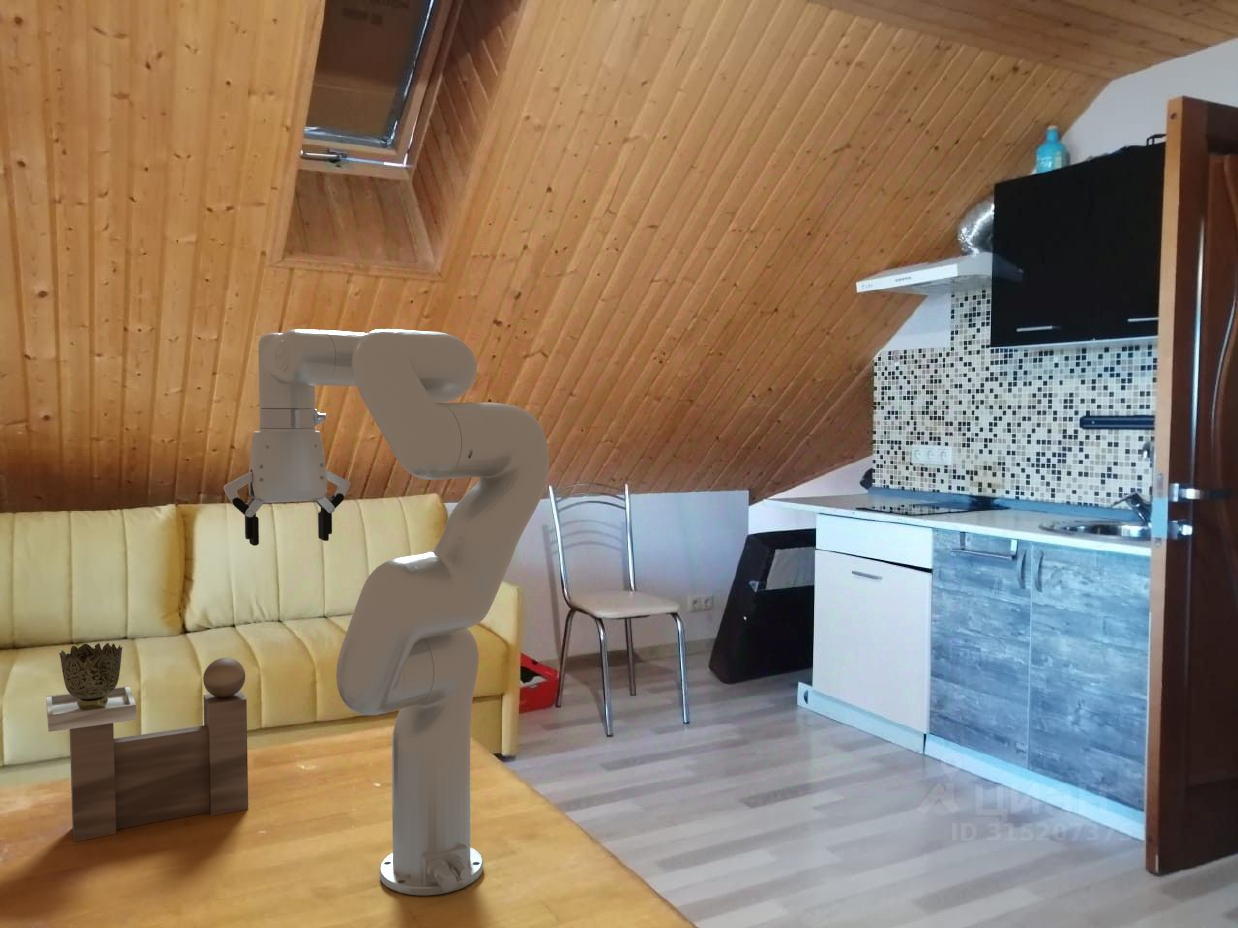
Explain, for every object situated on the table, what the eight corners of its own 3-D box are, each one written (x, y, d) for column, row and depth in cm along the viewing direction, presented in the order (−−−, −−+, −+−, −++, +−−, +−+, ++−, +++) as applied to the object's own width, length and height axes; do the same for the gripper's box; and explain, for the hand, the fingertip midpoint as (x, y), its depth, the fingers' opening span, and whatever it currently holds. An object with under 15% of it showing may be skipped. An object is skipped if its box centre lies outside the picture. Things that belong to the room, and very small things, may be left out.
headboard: (254, 814, 144) (251, 664, 142) (52, 853, 131) (47, 688, 130) (240, 790, 153) (238, 648, 151) (50, 824, 140) (45, 669, 139)
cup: (97, 718, 133) (96, 657, 132) (48, 714, 134) (46, 654, 133) (135, 701, 140) (134, 643, 139) (87, 697, 141) (86, 640, 141)
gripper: (341, 420, 152) (342, 535, 153) (218, 421, 143) (220, 542, 144) (356, 421, 145) (357, 541, 146) (227, 422, 136) (230, 549, 137)
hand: (289, 541), depth 145 cm, fingers open, 9 cm apart
